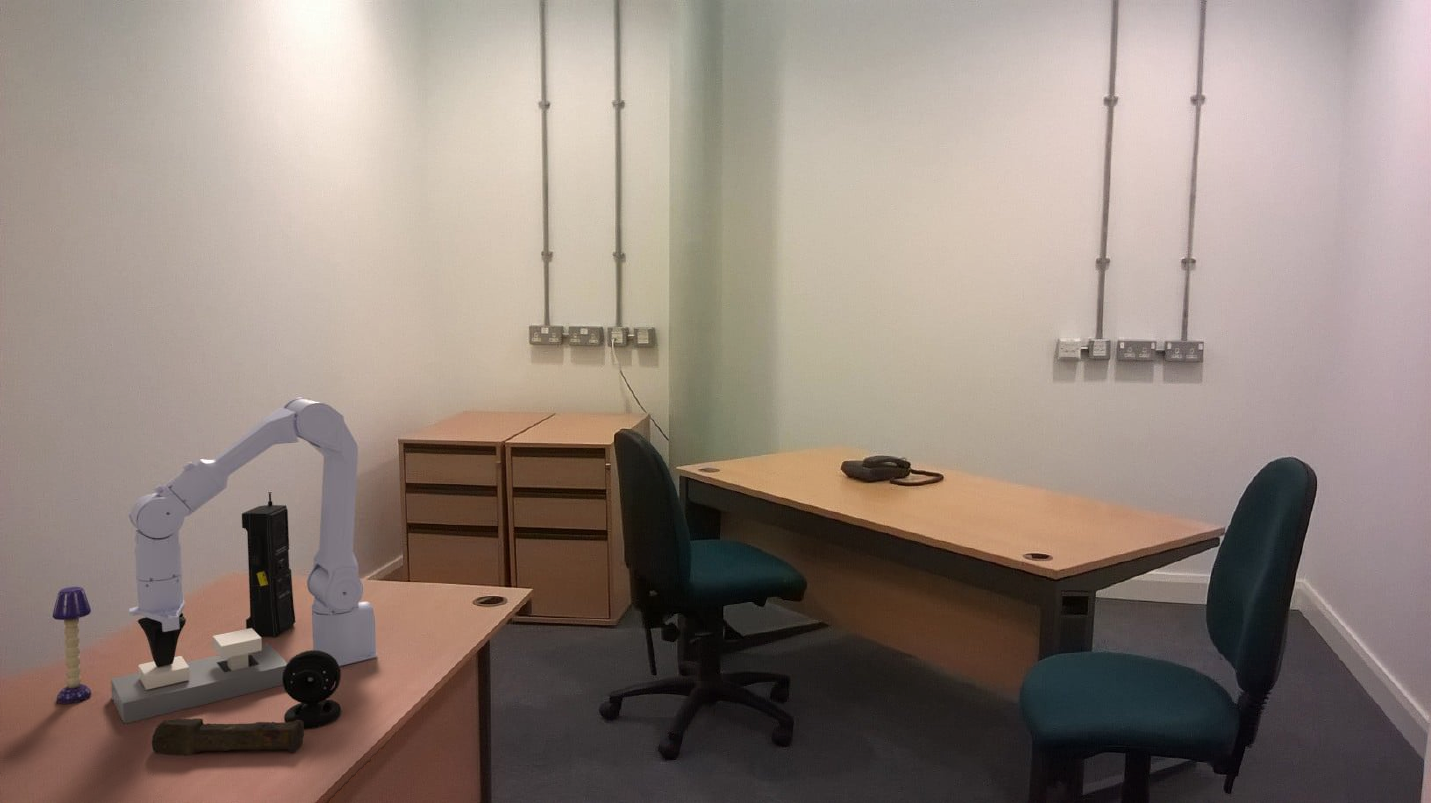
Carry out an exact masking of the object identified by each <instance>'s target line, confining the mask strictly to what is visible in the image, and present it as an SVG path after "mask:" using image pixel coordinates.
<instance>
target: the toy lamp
mask: <svg viewBox="0 0 1431 803" xmlns="http://www.w3.org/2000/svg"><path fill="white" fill-rule="evenodd" d="M54 604H55V605H54V608H53V610H52V611H53V612H52V618H53V619H54V620H57V621H63V624H64V626H65V628H64V636H65V638H64V644H65V650H64V654H65V656H66V659H65V666H66V670H65V673H66V674H65V675H66V677H67V678H66V680H65V681H66V683H65V684H66V686H65V687H63V688H61V690H60V691H59V692H58V694H57V696H56V703H58V702H59V704H65V703H66V704H72V703H71V702H74V703H76V702H75V701H78V702H81V701H80V700H82V699H85V698H87V699H89V698H90V697H91V696H92V691H91V689H90V688H89V686H87V685H85V684H83V683H81V682H82V677H81V676H80V675H81V672H82V671H81V670H82V669H81V667H80V663H81V657H80V652H81V648H80V645H79V644H80V636H79V634H80V627H79V622H80V619H81V618H84V617H86V616H88V615H90V614H91V612H92V609H91V606H90V602H89V601H88V597H87V595H86V592H85V590H84V588H83V587H81V586H70V587H65V588H62V589H60V590H59V591H58V593H57V596H56V600H55V603H54ZM88 697H89V698H88ZM85 700H86V699H85ZM82 701H83V700H82Z"/></svg>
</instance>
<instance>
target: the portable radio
mask: <svg viewBox="0 0 1431 803" xmlns="http://www.w3.org/2000/svg"><path fill="white" fill-rule="evenodd" d="M267 493H268V501H267V504H265V505H258V506H257V507H254V508H251V509H249V510H247V511H244V512H242V513H241V528H242V529H245V530H246V532H247V533H246V534H247V557H248V558H247V559H248V562H247V563H248V586H249V588H248V589H249V591H248V592H249V617H247V619H245V629H249V628H252V629H253V630H254V631H255V632H256V633H257V634H258V635H259V636H260V637H261V638H277V637H279V636H280V635H282V634H283V633H284V632H286V631H288V630H289V629H290V628H291V627H293V626H294V625H295V623H296V622H297V621H296V614H295V605H294V593H293V578H292V569H291V568H290V558H289V556H290V555H289V553H290V552H289V550H290V538H289V534H290V533H289V532H290V531H289V513H288V512H289V511H288V507H287V505H286V504H284V505H282V504H281V505H280V504H273V501H272V493H273V492H272V491H269V492H267Z"/></svg>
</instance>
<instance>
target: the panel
mask: <svg viewBox="0 0 1431 803" xmlns="http://www.w3.org/2000/svg"><path fill="white" fill-rule="evenodd" d="M185 662H186V663H187V665H188V666H189V674H190V680H187V681H183V682H178V683H175V684H172V685H167V686H163V687H158V688H152V689H148V690H146V689H145V687H144V685H143V684H142V682H141V680H140V678H139V672H134V673H130V674H125V675H121V676H116V677H111V678H110V684H111V686H110V688H111V699H112V698H113V699H112V701H113V700H114V701H113V702H115V703H114V705H115V707H117V708H116V710H117V709H118V710H117V712H118V711H119V712H118V714H119V713H120V714H119V716H120V718H121V721H122V720H123V721H122V723H123V722H124V723H125V724H130V723H134V722H138V721H141V720H146V719H149V718H153V717H154V718H155V717H157V715H158V716H162V715H166V714H170V713H174V712H178V711H182V710H187V709H191V708H194V707H199V706H203V705H206V704H212V703H214V702H218V701H223V700H228V699H231V698H236V697H239V696H243V695H248V694H251V693H256V692H261V691H263V690H268V689H272V688H276V687H281V686H283V682H282V677H283V671H284V669H285V666H286V665H287V664H288V662H287V661H286V659H284V658H283V657H282V656H281V655H280V654H279V653H278V652H277V651H276V650H275V649H274V647H273V646H272V645H270V644H263V645H262V650H261V651H257V652H252V653H248V665H249V667H246V668H242V669H238V670H233V671H231V669H230V668H229V667H228V660H227V658H225V659H222V658H221V657H220V656H219V655H218V654H217V655H214V656H208V657H205V658H200V659H196V660H190V661H185ZM124 723H123V724H124ZM125 724H124V725H125Z"/></svg>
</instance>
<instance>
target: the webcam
mask: <svg viewBox="0 0 1431 803" xmlns="http://www.w3.org/2000/svg"><path fill="white" fill-rule="evenodd" d="M287 663H288V664H287V665H286V666H285V669H284V671H283V677H282V682H283V685H282V686H283V688H284V690H285V693H286V694H287V695H288V696H289V697H290V699H293V700H294V701H296V702H297V704H295V705H293V706H291V707H290V708H288V709H287V710H286V711H285V713H284V716H283V720H284V722H285V723H286V722H293V721H295V720H301V721H303V723H304V730H308V729H309V730H311V729H316V728H319V727H322V726H325V725H328V724H330V723H333V722H334V721H336V720H337V719H338V718H339V716H340V715H341V712H342V706H341V704H340V703H339V702H337V701H334V700H332V699H329V698H331V697H332V695H333V694H335V692H336V691H337V689H338V688H339V685H340V682H341V678H342V671H341V666H339V665H338V663H337V661H336V659H334V658H333V657H332V656H331V655H330V654H328V653H325V652H322V651H319V650H313V649H311V650H306V651H302V652H299V653H298V654H296V655H294V656H292V658H291V659H289V661H288V662H287ZM322 710H326V711H328V712H326V713H324V714H323V713H322Z"/></svg>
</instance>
